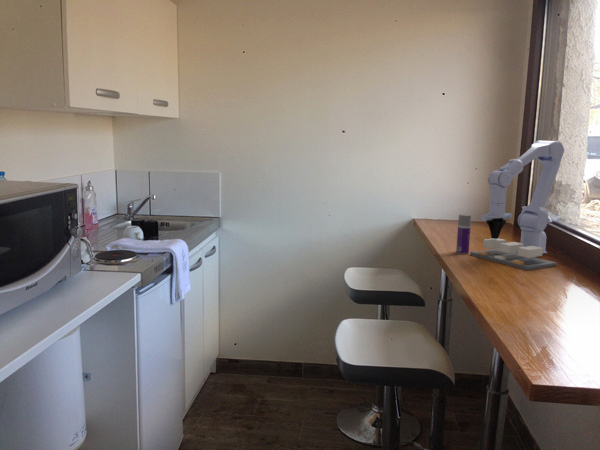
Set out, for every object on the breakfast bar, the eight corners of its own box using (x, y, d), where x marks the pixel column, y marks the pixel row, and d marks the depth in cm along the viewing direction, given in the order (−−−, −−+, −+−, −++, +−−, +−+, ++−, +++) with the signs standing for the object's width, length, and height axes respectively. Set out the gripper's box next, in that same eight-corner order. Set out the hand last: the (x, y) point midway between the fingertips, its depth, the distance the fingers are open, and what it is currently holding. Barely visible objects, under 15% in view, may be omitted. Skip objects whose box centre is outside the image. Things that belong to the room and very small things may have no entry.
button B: (513, 249, 199) (514, 241, 198) (523, 251, 195) (524, 243, 195) (499, 250, 195) (500, 243, 195) (509, 253, 192) (509, 245, 191)
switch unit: (497, 251, 211) (497, 246, 211) (556, 265, 188) (556, 260, 188) (470, 255, 204) (470, 249, 203) (527, 270, 181) (528, 264, 181)
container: (469, 254, 204) (472, 216, 202) (456, 253, 205) (459, 215, 203) (468, 252, 209) (470, 214, 207) (455, 251, 210) (458, 213, 207)
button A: (496, 245, 206) (496, 237, 205) (505, 247, 202) (506, 240, 202) (482, 246, 202) (483, 239, 202) (491, 248, 198) (492, 241, 198)
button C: (531, 253, 192) (532, 245, 192) (542, 255, 188) (543, 248, 188) (517, 255, 188) (518, 247, 188) (528, 257, 185) (528, 249, 184)
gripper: (502, 200, 206) (499, 235, 209) (475, 202, 199) (472, 237, 202) (517, 202, 200) (514, 238, 202) (490, 204, 193) (487, 241, 196)
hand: (494, 238), depth 202 cm, fingers closed
